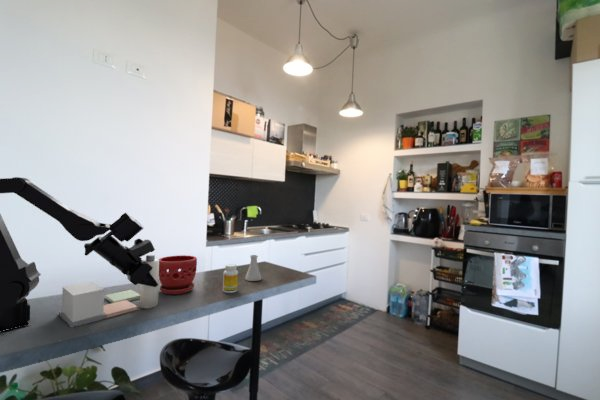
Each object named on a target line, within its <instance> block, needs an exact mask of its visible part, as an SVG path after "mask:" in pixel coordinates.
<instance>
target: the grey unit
mask: <svg viewBox="0 0 600 400" xmlns="http://www.w3.org/2000/svg"><path fill="white" fill-rule="evenodd" d="M61 298H62V299H61V300H62V302H61V303H62V305H61V309H62V310H59V311H58V315H59V317H60V318H62V320H63V321H64V322H65V321H66V322H67V323H68V324H69V325H70V326H71V327H72V328H75V327H74V326H76V327H79V326H83V325H87V324H89V323H94V322H97V321H100V320H101V321H102V320H105V319H108V318H107V314H106V313H104V305H105V303H104V302H105V288H103V287H102V286H99V285H98V284H97V283H95V282H93V281H87V282H83V283H77V284H72V285H66V286H62V297H61ZM66 322H65V323H66ZM67 323H66V324H67ZM68 324H67V325H68ZM82 324H83V325H82ZM78 325H79V326H78ZM70 326H69V327H70ZM71 327H70V328H71Z"/></svg>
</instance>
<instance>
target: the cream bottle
mask: <svg viewBox="0 0 600 400" xmlns="http://www.w3.org/2000/svg"><path fill="white" fill-rule="evenodd" d="M155 256H156V255H154V254H149V255H148V254H146V255H145V259H141V260H142V261H141V262H143V261H145V262H146V263H148V264H149V265H150V266H152V267H153V268H152V270H151V271H150V274H151V275H152V277H153V278H154V279H155V281H156V282H157V283H158V285H157V286H156V287H153V286H148V285H143V284H140V292H139V294H140V299H139V307H140V308H141V309H151V308H152V309H153V308H154V307H157V306H158V304H159V282H160V280H159V259H158V258H156V257H155Z"/></svg>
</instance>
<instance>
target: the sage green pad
mask: <svg viewBox="0 0 600 400" xmlns="http://www.w3.org/2000/svg"><path fill="white" fill-rule="evenodd" d="M138 299H139V300H140V293H138V292H136V291H134V290H133V289H128V290H124V291H119V292H114V293H109V294H104V300H107V301H108V302H110V304H111V303H115V302H119V301H123V300H127V301H129V302H131V301H136V300H138Z"/></svg>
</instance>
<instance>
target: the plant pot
mask: <svg viewBox="0 0 600 400" xmlns="http://www.w3.org/2000/svg"><path fill="white" fill-rule="evenodd" d="M158 260H159V282H160V284H161V285H160V286H159V290H160V292H161V293H163V294H166V295H181V294H182V295H183V294H186V293H189V292H190V291H192V290H193V289H194V288H195V282H194V279H195V277H196V273H197V266H198V258H197V257H196V256H193V255H183V254H182V255H170V256H164V257H160V258H159V259H158ZM179 270H180V271H179Z"/></svg>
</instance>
